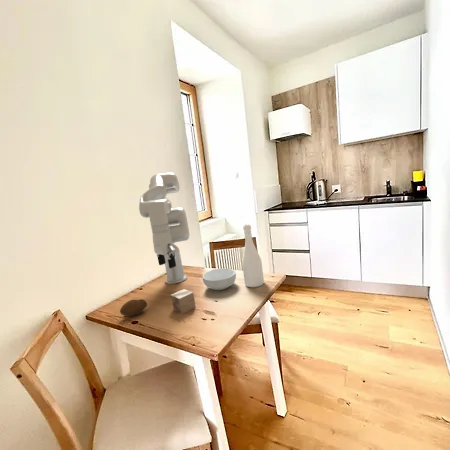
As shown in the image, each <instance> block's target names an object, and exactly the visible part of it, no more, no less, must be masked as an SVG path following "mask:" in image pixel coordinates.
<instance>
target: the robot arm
mask: <svg viewBox="0 0 450 450" xmlns="http://www.w3.org/2000/svg"><path fill="white" fill-rule="evenodd" d="M149 182H150V183H149V185H148V188H149V189H148V190H146V191H145V192H144V193H143V194H142V195H141V196H140V199H139V205H138V208H139V209H138V210H139V213H140V216H141V217H142V218H145V219H146V218H147V219H148V218H149V222H150V228H151V233H152V243H153V244H152V245H153V250H154V251H153V252H154V253H155V254H156V257H157V261H158V265H159V266H163V265H164V266H165V272H166V273H165V275H166V278H165V279H164V282H165V283H166V284H168V285H174V284H180V283H182V282H185V280H187V279H188V276H187V274H184V267H183V263H182V256H181V251H180V248H179V247H178V246H177V244H175V243H181V242H184V241H188V240H189V239H190V228H189V222H188V218H187V213H186V211H185V209H184V208H183V207H175V208H173V206H172V201H171V200H170V199H169V198H167V195H168V194H174V193H178V192H179V191H180V183H179V182H180V181H179V179H178V176H177V174H175V173H174V172H165V173H162V172H161V173H157V174H154V175H152V177H150V180H149Z"/></svg>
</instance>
